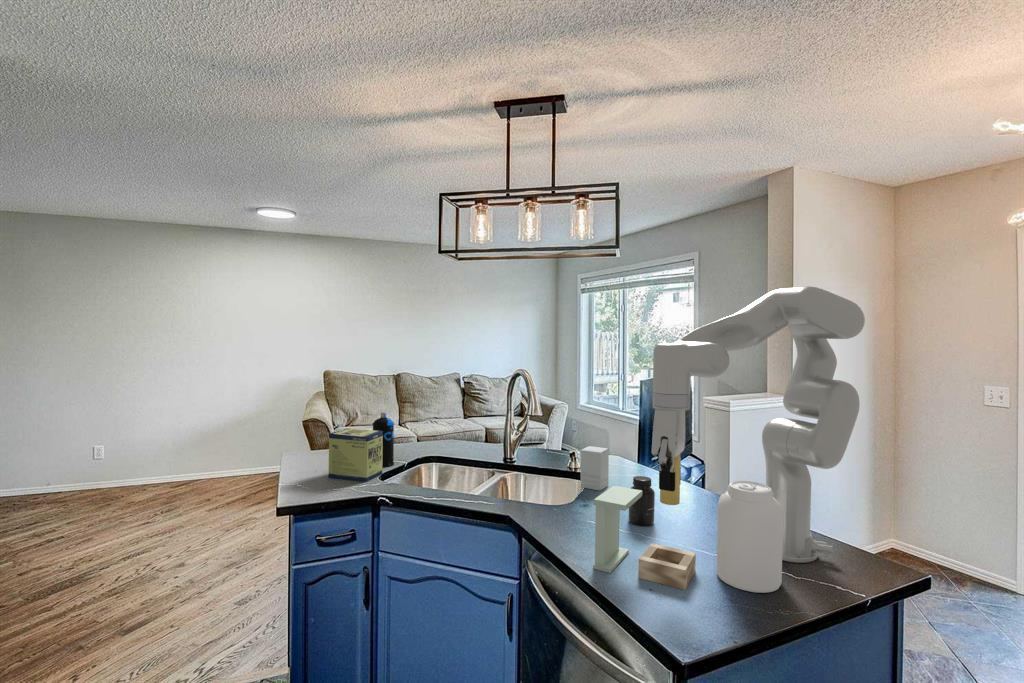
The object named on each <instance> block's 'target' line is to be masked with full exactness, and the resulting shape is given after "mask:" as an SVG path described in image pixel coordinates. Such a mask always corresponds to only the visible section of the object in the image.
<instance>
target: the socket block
mask: <svg viewBox="0 0 1024 683" xmlns="http://www.w3.org/2000/svg"><path fill="white" fill-rule="evenodd" d="M696 556H697V553H696V552H692V551H688V550H684V549H680V548H675V547H671V546H665V545H661V544H658V543H652V542H651V543H650V544H649V546H648V547H647V548H646V549H645V550H644V552H643V553H642V554H641V555H640V557H638V567H637V568H638V572H637V573H638V574H637V576H638V579H641V580H642V579H643V580H646V581H650V582H653V583H656V584H661V585H664V586H668V587H672V588H676V589H680V590H683V591H686V589H687V588H688V586H689V584H690V583H691V580H692V578H693V576H694V575H695V573H696V565H697V564H696V562H697V560H696V558H697V557H696Z"/></svg>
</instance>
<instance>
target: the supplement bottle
mask: <svg viewBox="0 0 1024 683" xmlns="http://www.w3.org/2000/svg"><path fill="white" fill-rule="evenodd" d="M632 485H633V486H631V487H630V488H631V489H636V490H642V496H641V497H640V498H639V499H638V500H637V501H636V502H635V503H634V504H632V505H631V506H630V507H629V508H628V521H629V523H631V524H633V525H636V526H641V527H649V526H652V525H653V524H654V523H655V507H656V506H655V503H656V502H655V501H656V493H655V490H654V489H653V487H652V478H651V477H649V476H645V475H636V476H633V478H632Z"/></svg>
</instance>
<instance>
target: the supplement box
mask: <svg viewBox="0 0 1024 683" xmlns="http://www.w3.org/2000/svg"><path fill="white" fill-rule="evenodd" d="M609 451H610V450H609V448H607V447H599V446H593V445H592V446H590V445H589V446H586V447H584V448H582V449H580V488H583V489H584V488H585V489H589V490H595V491H598V492H599V491H602V490H604V489H606V488H607V487H608V486H609V468H610V467H609V464H610V462H609V457H610V456H609V454H610V453H609Z"/></svg>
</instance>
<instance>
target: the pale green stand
mask: <svg viewBox="0 0 1024 683" xmlns="http://www.w3.org/2000/svg"><path fill="white" fill-rule="evenodd" d="M641 496H642V490H636V489H631V487H624V486H619V485H612V486H611V487H610V488H607V489H606V490H605V491H604V492H602V493H601V494H599V495H598V496H596V497H595V498H594V499H593V505H594V506H595V523H594V524H595V529H594V533H595V534H594V539H595V540H594V563H593V564H592V569H595V570H598V571H602V572H606V573H609V574H611V573H612V572H613V571H614V570H615V569H616V568H617V567H618V565H619V564H621V562H622V561H624V559H625V557H626V556H628V554H629V553H630V552H629V551H630V549H629V548H624V547H621V546H620V518H621V517H620V515H621V514H620V512H621V511H623V512H626V511H628V510H629V507H630V506H631V505H632V504H634V503H635V502H636V501H637V500H638V499H639V498H640V497H641Z"/></svg>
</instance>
